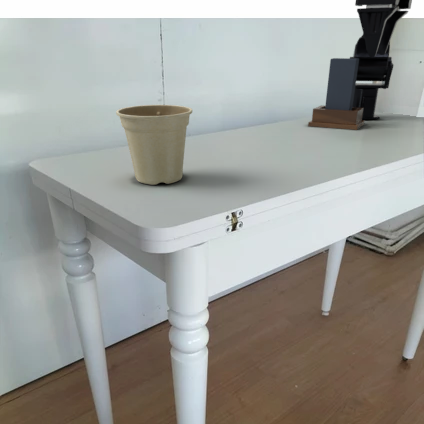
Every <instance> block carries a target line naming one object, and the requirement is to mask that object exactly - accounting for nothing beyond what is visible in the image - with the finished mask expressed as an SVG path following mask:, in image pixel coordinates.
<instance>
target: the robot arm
mask: <svg viewBox="0 0 424 424" xmlns="http://www.w3.org/2000/svg"><path fill="white" fill-rule="evenodd" d="M412 2H413V0H355V2H354V6H356V7H363V6H365V7H363V8H356V13H357V14H358V19H359V21H360V25H361V30H362V35H361V36H360V37H359V38H358V39H357V41H356V44H355V45H354V48H353V53H352V56H349V58H351V59H359V64H358V71H357V78H356V85H355V92H354V99H353V107H358V108H363V115H362V120H380V119H381V116H380V115H378V114H375V113H376V107H377V101H378V96H379V90H380V89H383V90H386V89H389V87H390V81H391V78H392V73H393V70H394V63H393V60H392V59H393V58H392V56H390V51H391V49H390V48H391V39H392V38H393V37H392V36H393V35H394V32H395V28H396V26H397V24H398V22H399V21H400V20H401V19H402V18H403V17H404V16H406V15H407V14H408V13H409V10H411V8H412ZM371 82H373V83H371ZM376 82H377V83H376ZM378 82H381V83H378Z"/></svg>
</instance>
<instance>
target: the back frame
mask: <svg viewBox="0 0 424 424" xmlns="http://www.w3.org/2000/svg"><path fill="white" fill-rule="evenodd" d="M362 115H363V108H358V107H352V110H335V109H325V105H318V106H317V107H314V108H312V117H311V120H310V121H308V124H307V127H314V128H326V129H327V128H329V129H341V130H354V131H357V130H359V129H360V128H361V127H362V126H364V125H365V120H366V119H362Z"/></svg>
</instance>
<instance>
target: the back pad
mask: <svg viewBox="0 0 424 424" xmlns="http://www.w3.org/2000/svg"><path fill="white" fill-rule="evenodd" d="M329 62H330V63H329V70H328V80H327V87H326V95H325V96H326V98H325V105H324V106H325V109H335V110H352V107H353V99H354V92H355V85H356V83H357V81H356V78H357V71H358V64H359V59H351V58H350V57H347V58H343V57H334V58H330V61H329Z"/></svg>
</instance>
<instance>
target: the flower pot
mask: <svg viewBox="0 0 424 424" xmlns="http://www.w3.org/2000/svg"><path fill="white" fill-rule="evenodd" d="M192 113H193V108H191V107H189V106H184V105H177V104H176V105H175V104H145V105H143V104H141V105H132V106H126V107H122V108H119V109H117V110H116V111H115V114H116V116H118V117H119V120H120V124H121V126H122V128H123V130H124V133H125V138H126V142H127V146H128V150H129V154H130V159H131V163H132V167H133V172H134V177H135V179H136V181H138V182H139V183H141V184H146V185H152V186H155V185H158V184H160V183H165V184H166V185H170V184H174V183H176V182H178V181H181V180H182V178H183V174H184V171H183V170H184V159H185V148H186V138H187V129H188V128H187V127H188V126H189V124H190V115H192Z"/></svg>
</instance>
